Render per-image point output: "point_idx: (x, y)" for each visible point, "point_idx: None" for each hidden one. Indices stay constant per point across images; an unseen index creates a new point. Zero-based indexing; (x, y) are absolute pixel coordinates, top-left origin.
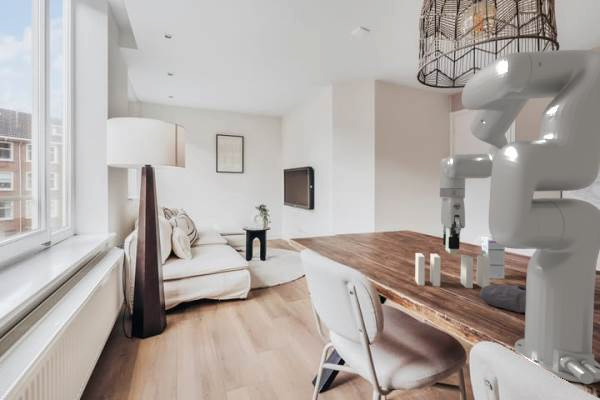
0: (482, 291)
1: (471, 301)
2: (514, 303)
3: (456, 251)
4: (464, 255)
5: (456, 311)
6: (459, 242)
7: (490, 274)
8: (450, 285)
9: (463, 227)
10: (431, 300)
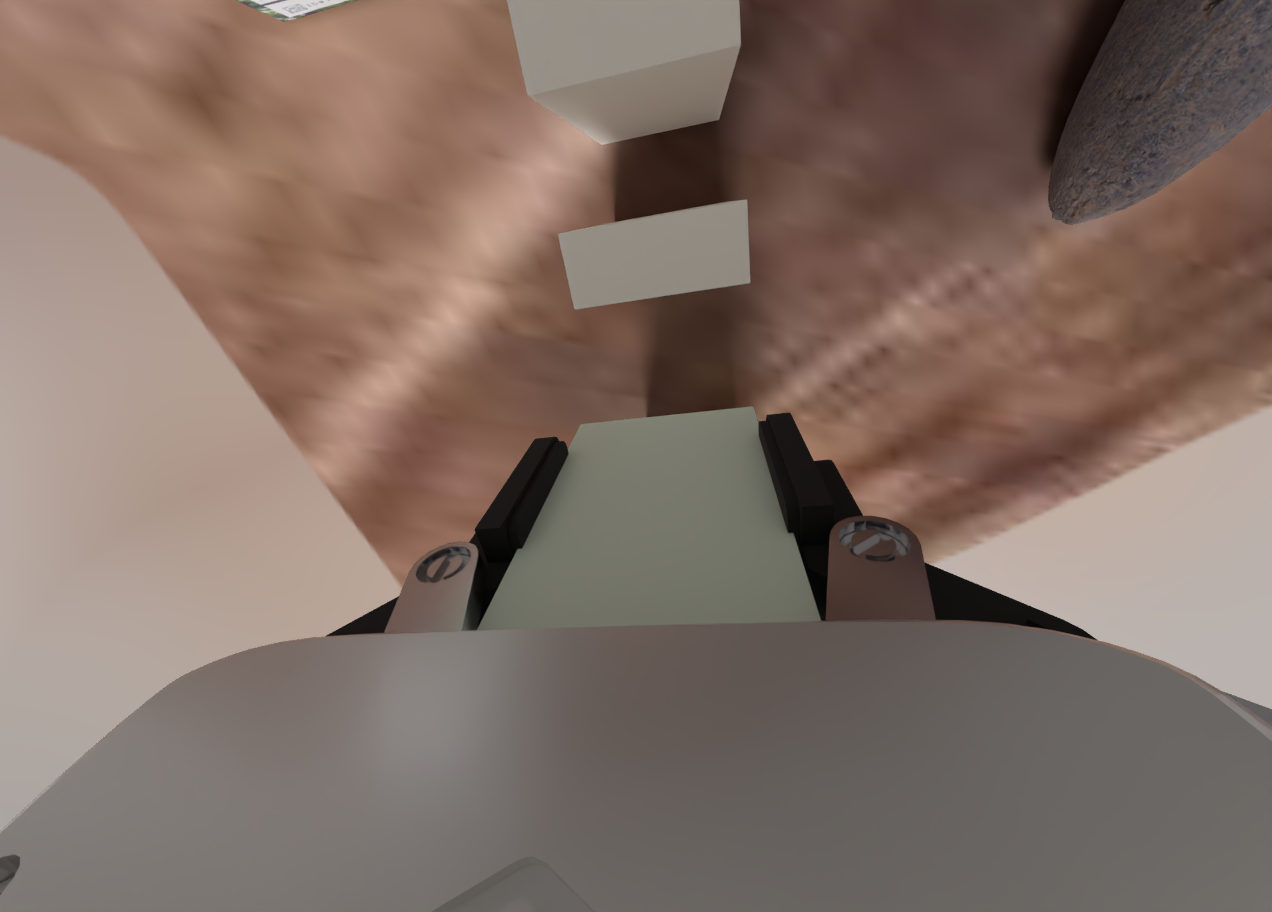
0: (1121, 208)
1: (992, 270)
2: None
3: (755, 418)
4: (605, 279)
5: (1145, 388)
6: (806, 452)
7: None
8: (699, 346)
9: (1170, 687)
10: (975, 481)
